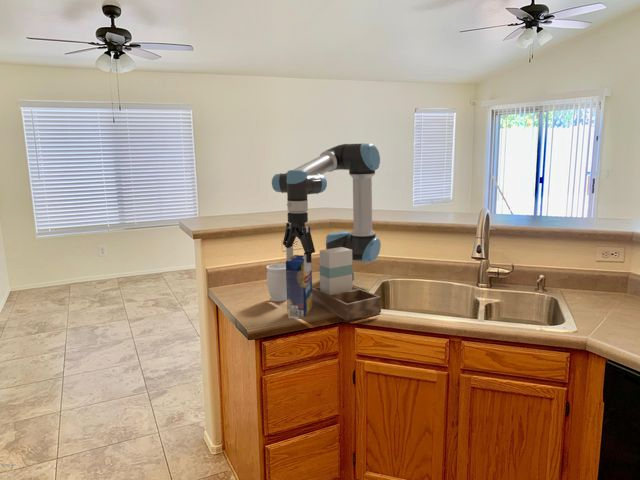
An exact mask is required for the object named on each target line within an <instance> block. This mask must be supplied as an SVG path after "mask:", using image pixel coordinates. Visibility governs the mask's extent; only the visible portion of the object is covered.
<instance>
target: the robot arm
mask: <svg viewBox="0 0 640 480" xmlns="http://www.w3.org/2000/svg"><path fill="white" fill-rule="evenodd" d="M380 164H381V156H380V152H379V150H378V149H377V146H376V145H375V144H373V143H366V142H365V143H364V142H363V143H343V144H338V145H335V146H333V147H331V148H328V149H326V150H324V151H322V152H321V153H320V154H319V156H318V157H315V158H314V159H312V160H310V161H307V162H306V163H304V164H302V165H300V166H298V167H295V168H294V169H290V170H287V172H285V173H276V174H274V175H273V177H272V179H271V186H272V189H273V191H275V192H276V193H281V194H283V193H284V194H285V193H286V195H287V199H286V200H287V201H286V202H287V203H286V207H287V222H286V227H285V233H284V236H283V241H282V245H283V246H284V247H285V255H286V258H285V259H286V261H287V260H288V259H290V258H291V257H292V256H294V242H295V241H296V239H298V240H299V241H300V243H301V246H302V249H303V251H304V253H303V255H304V271H305V272H307V271H311V263H312V254H314V253H316V249H315V246H314V241H313V237H312V233H311V227H310V226H306V223H308V221H309V217H308V215H309V213H308V211H309V208H308V206H309V205H308V195H313V194H314V195H315V194H316V195H318V194H320V193H323V192H325V190H326V189H327V186H328V182H327V178H326V177H325V175H323V174H326V173H331V172H334V171H338V170H343V171H345V170H346V171H348V174H349V176H350V177H351V178H352V210H353V213H352V214H353V215H352V217H353V219H352V220H353V221H352V222H353V230H352V231H351V232H350V231H347V230H346V231H345V230H344V231H335V232H331V233H328V234H327V235H326V239H325V249H332V248H339V247H344V248H348V249H351V250H352V261H355V262H362V263H373V262H374V261H376V259H378V256H379V254H380V251H381V246H382V245H381V240H380V238H378V237H376V235H377V234H376V231H374V229H373V189H372V187H373V183H372V182H373V179H372V178H373V176H375V174H376V171H377V170H378V169H379V167H380ZM286 261H285V262H286ZM354 279H355V273H354V272H353V274H352V281H353V280H354Z"/></svg>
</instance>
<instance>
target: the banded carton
mask: <svg viewBox="0 0 640 480" xmlns="http://www.w3.org/2000/svg"><path fill="white" fill-rule="evenodd" d="M353 270H354V269H353V260H352V250H351V249H348V248H344V247H339V248H332V249H326V248H325V249H320V250H319V287H320V291H321V292H323V293H325V294H328V295H333V294H338V293H342V292H347V291H352V286H353V280H352V274H353V273H354V271H353Z"/></svg>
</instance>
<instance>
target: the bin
mask: <svg viewBox="0 0 640 480" xmlns="http://www.w3.org/2000/svg"><path fill="white" fill-rule="evenodd" d="M313 304H314V305H315V306H318V307H319V308H321V309H323V310H325V311H327V312H329V313H331V314H333V315H335V316H337V317H338V318H341V319H343V320H345V321H348V322H346V324H349V323H352V322H357V321H360V320H364V319H367V318H368V319H369V318H372V317H376V316H380V315H381V312H382V296H379V294H378V295H377V294H376V293H373V292H369V291H367V290H366V289H362V288H359V287H357V286H355V285H352V291H347V292H342V293H338V294H333V295H328V294H325V293H323V292H321V291H320V286H316V287H315V286H314V287H312V305H313ZM374 314H375V315H374ZM370 315H371V316H370ZM366 316H367V317H366ZM362 317H363V318H362Z"/></svg>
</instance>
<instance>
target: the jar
mask: <svg viewBox="0 0 640 480" xmlns="http://www.w3.org/2000/svg"><path fill="white" fill-rule="evenodd" d="M266 270H267V273H266V284H267V290H268V294H269V296H270V297H269V298H270V302H271V303H273V304H275V302H285V301H287V284H286V263H282V262H281V263H280V262H279V263H271V264H268V265H266Z"/></svg>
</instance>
